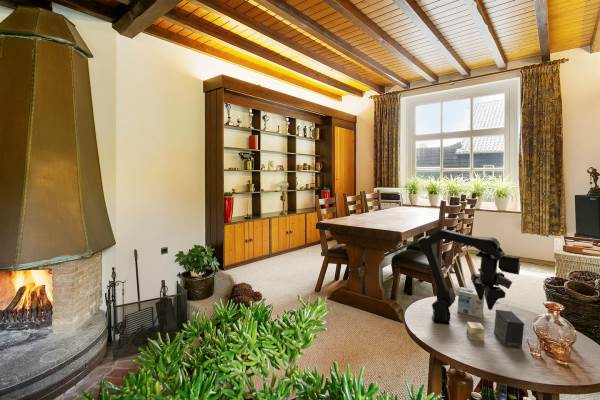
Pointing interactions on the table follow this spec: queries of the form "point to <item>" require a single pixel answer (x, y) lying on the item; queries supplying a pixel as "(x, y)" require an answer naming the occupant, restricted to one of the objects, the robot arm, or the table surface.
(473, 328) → the birch cube
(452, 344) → the table surface
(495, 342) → the table surface
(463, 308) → the light bulb box
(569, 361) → the table surface
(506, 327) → the small box
